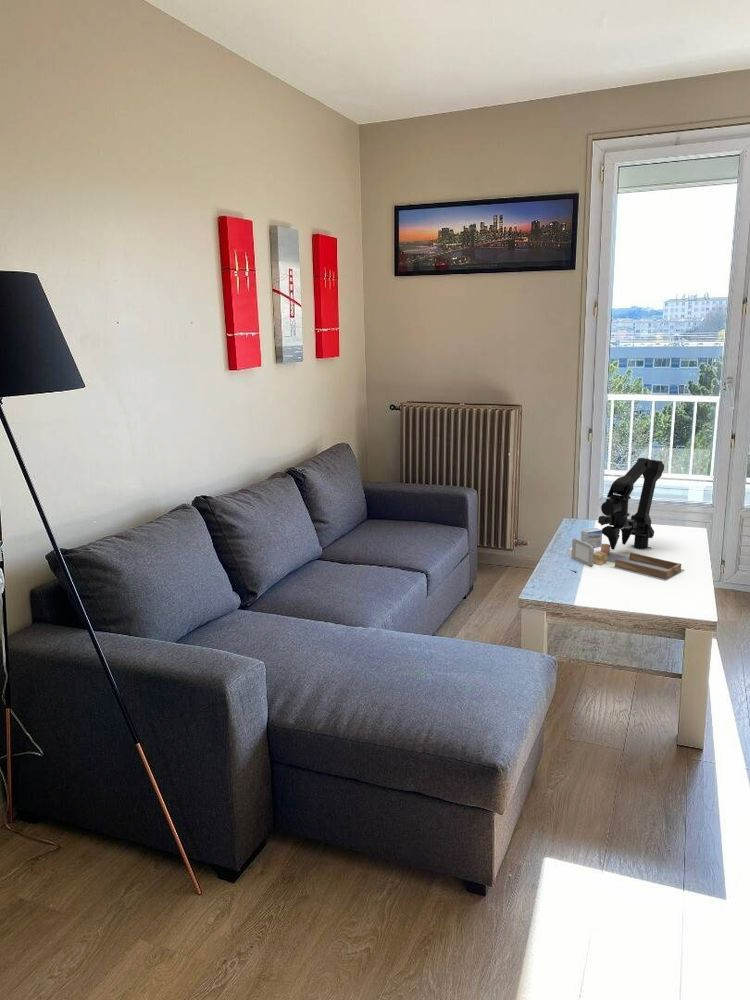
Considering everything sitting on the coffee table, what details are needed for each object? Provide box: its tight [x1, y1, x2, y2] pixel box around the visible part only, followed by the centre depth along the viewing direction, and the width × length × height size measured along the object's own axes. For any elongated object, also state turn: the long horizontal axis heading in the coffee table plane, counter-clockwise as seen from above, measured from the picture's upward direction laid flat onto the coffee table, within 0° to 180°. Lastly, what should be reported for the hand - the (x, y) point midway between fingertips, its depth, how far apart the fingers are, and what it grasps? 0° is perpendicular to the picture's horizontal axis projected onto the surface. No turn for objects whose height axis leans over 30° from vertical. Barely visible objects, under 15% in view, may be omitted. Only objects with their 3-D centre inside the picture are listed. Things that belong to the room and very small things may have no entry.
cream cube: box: [568, 546, 572, 557], centre depth 318 cm, size 4×4×4 cm
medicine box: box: [580, 527, 603, 549], centre depth 328 cm, size 8×4×9 cm, turn 112°
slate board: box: [599, 550, 686, 582], centre depth 304 cm, size 17×36×1 cm, turn 44°
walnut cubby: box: [615, 552, 682, 580], centre depth 299 cm, size 13×21×3 cm, turn 44°
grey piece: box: [570, 538, 595, 573], centre depth 306 cm, size 13×9×10 cm
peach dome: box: [600, 543, 611, 555], centre depth 317 cm, size 4×4×4 cm
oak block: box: [593, 551, 607, 566], centre depth 307 cm, size 4×4×4 cm
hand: (618, 546), depth 313 cm, fingers open, 9 cm apart
